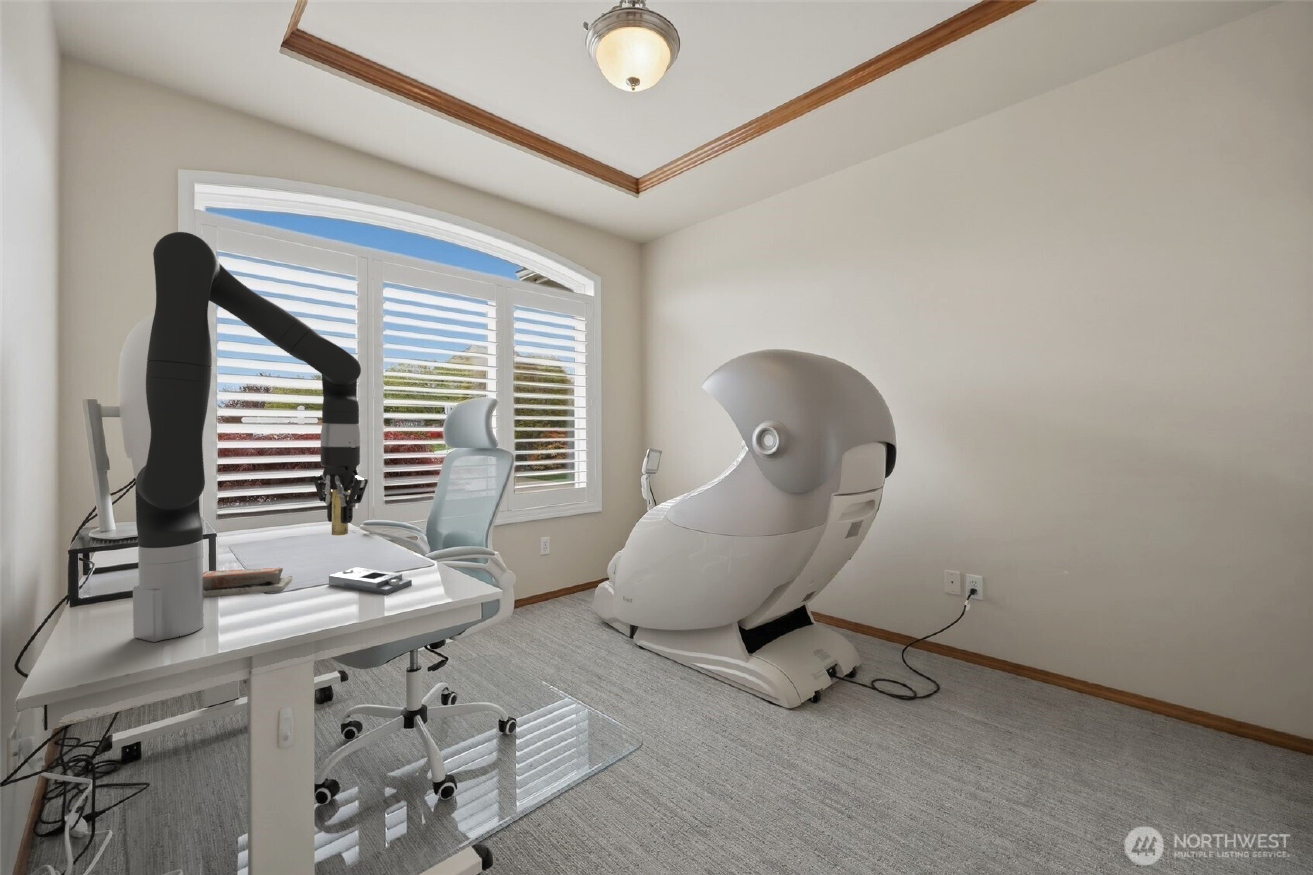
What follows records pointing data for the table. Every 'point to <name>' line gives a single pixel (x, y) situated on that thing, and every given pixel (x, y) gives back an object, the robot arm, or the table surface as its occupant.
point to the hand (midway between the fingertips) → (339, 521)
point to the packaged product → (243, 581)
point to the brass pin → (337, 515)
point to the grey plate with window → (369, 580)
